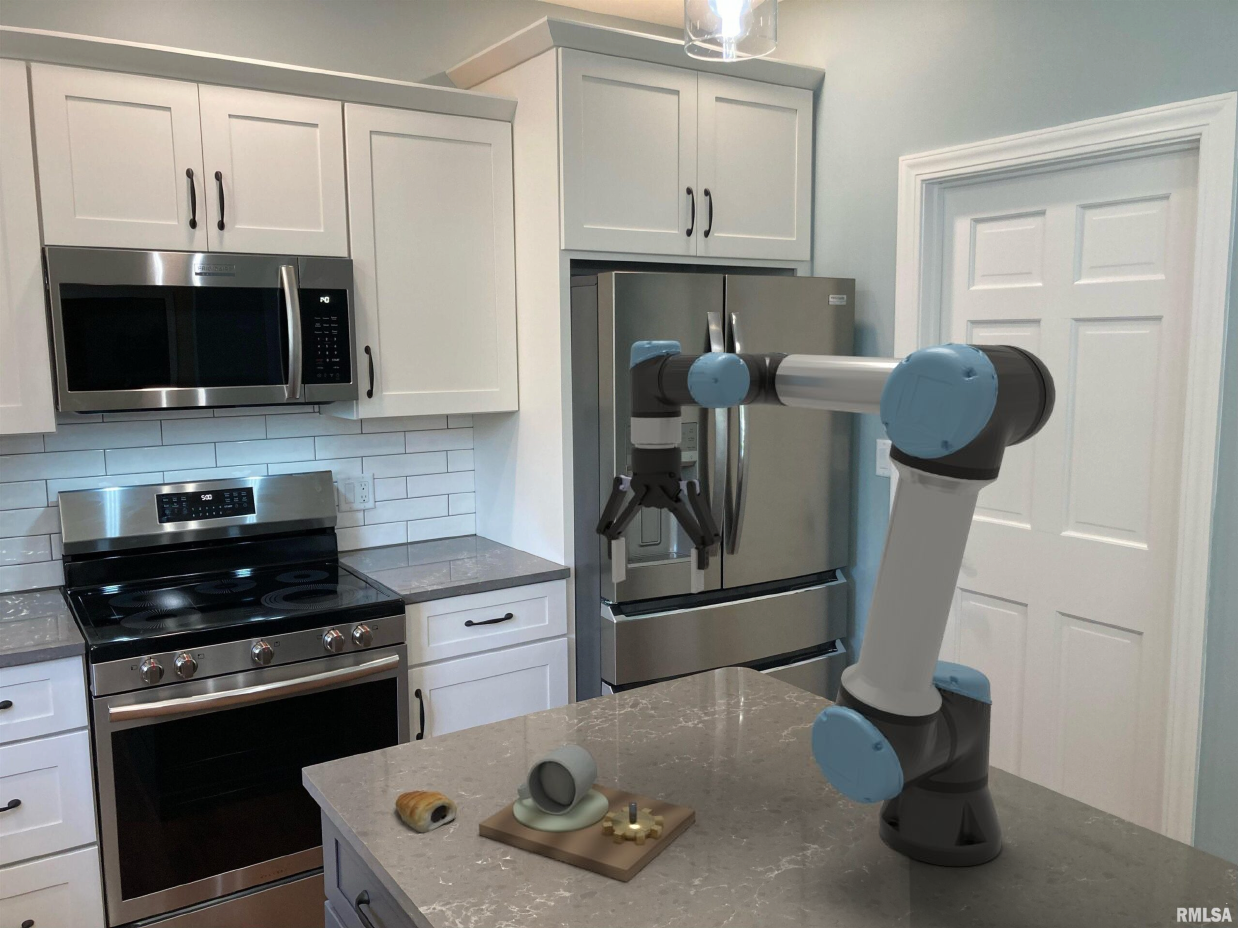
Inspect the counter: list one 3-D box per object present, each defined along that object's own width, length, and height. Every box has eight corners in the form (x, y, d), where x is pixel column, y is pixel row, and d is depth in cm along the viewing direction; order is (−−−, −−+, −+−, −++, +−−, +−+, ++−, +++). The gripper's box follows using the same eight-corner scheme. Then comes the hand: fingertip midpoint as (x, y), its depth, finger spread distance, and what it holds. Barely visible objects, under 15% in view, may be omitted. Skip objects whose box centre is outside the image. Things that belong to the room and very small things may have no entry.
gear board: (695, 820, 130) (695, 806, 129) (627, 881, 114) (626, 866, 114) (557, 783, 142) (557, 770, 142) (479, 834, 126) (478, 820, 126)
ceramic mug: (601, 793, 134) (599, 740, 133) (578, 819, 126) (576, 763, 125) (533, 783, 137) (531, 732, 137) (506, 808, 130) (504, 754, 129)
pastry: (383, 814, 133) (382, 788, 133) (423, 798, 138) (423, 773, 137) (422, 837, 126) (421, 809, 126) (463, 819, 131) (462, 793, 131)
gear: (674, 824, 126) (674, 798, 125) (644, 850, 119) (643, 823, 118) (623, 810, 130) (622, 784, 129) (590, 834, 123) (590, 808, 123)
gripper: (743, 446, 138) (743, 590, 140) (599, 440, 151) (601, 572, 153) (721, 450, 131) (721, 601, 134) (572, 444, 145) (574, 581, 147)
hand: (657, 586), depth 143 cm, fingers open, 13 cm apart
